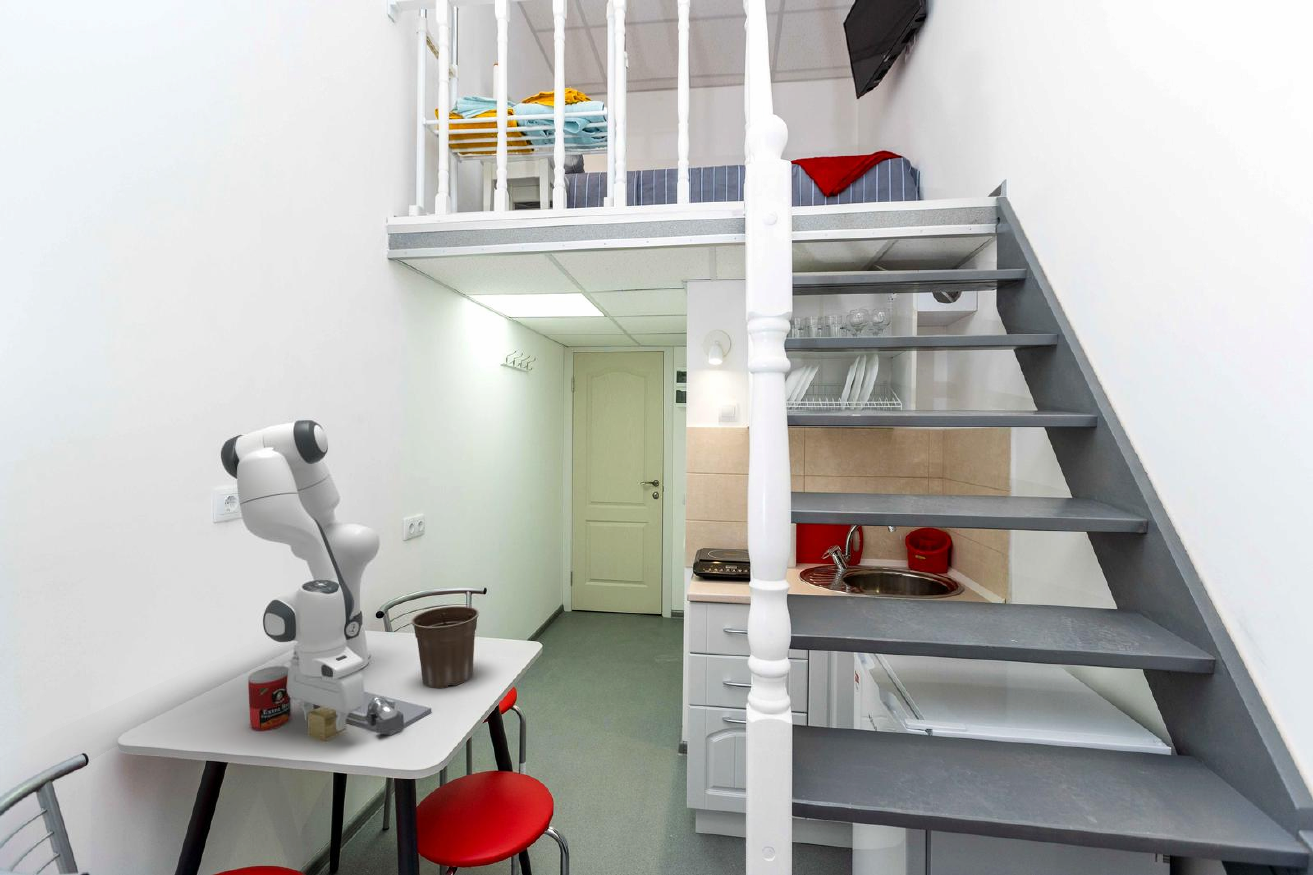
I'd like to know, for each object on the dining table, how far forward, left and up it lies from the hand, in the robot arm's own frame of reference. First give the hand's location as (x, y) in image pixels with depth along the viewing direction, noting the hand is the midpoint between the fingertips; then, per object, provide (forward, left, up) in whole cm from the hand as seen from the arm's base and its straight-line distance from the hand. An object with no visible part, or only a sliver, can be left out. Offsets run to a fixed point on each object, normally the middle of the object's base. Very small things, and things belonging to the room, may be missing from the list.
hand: (325, 724), depth 128 cm
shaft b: (+10, +7, -2) cm, 12 cm away
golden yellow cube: (0, 0, -2) cm, 2 cm away
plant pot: (+3, +31, -2) cm, 32 cm away
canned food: (-16, -2, -2) cm, 16 cm away
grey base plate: (+2, +9, -2) cm, 10 cm away
